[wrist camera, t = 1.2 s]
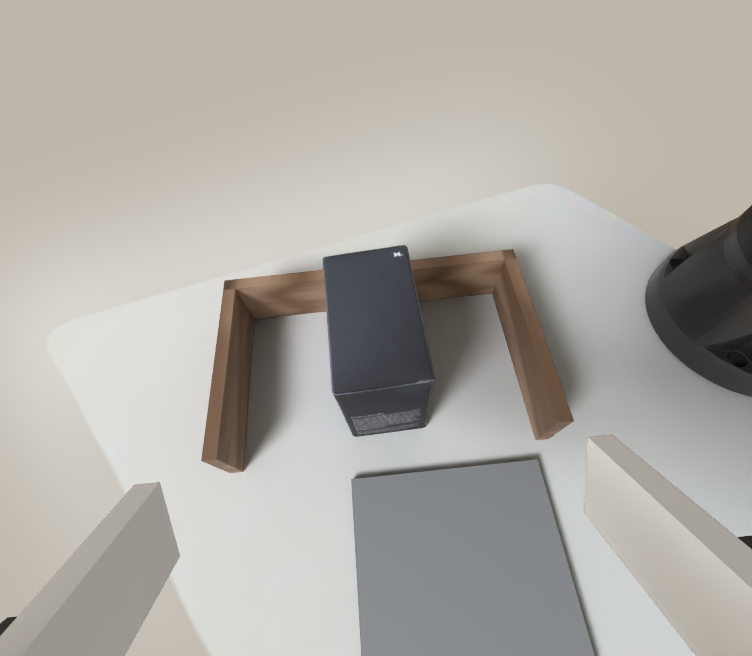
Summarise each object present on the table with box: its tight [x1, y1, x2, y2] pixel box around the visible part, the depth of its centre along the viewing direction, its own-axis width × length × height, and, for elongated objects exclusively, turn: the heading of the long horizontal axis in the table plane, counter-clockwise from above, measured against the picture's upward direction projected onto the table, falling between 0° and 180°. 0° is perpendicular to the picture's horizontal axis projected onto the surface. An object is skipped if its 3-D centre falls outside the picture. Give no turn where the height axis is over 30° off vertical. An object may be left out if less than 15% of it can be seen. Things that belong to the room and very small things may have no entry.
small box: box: [323, 245, 435, 437], centre depth 29 cm, size 11×6×10 cm, turn 7°
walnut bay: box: [201, 249, 574, 473], centre depth 31 cm, size 25×15×5 cm, turn 95°
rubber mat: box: [351, 459, 595, 656], centre depth 26 cm, size 14×12×1 cm
